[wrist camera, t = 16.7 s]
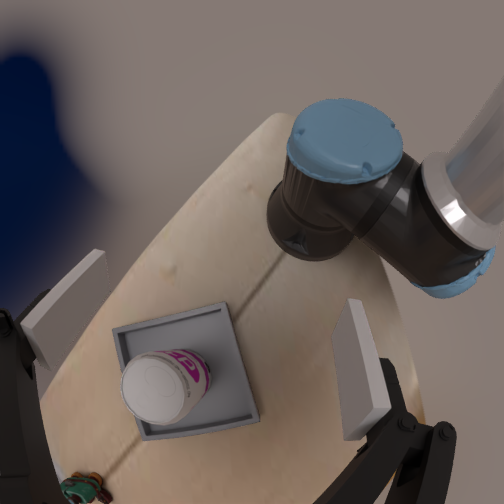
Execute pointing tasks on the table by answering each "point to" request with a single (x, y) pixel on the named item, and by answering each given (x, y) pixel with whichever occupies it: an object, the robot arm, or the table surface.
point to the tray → (217, 357)
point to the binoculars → (84, 489)
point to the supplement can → (164, 384)
